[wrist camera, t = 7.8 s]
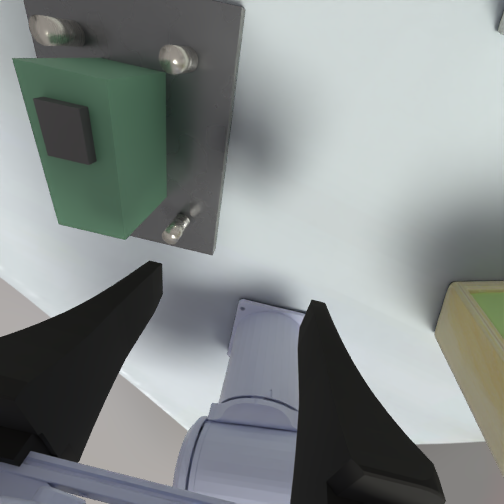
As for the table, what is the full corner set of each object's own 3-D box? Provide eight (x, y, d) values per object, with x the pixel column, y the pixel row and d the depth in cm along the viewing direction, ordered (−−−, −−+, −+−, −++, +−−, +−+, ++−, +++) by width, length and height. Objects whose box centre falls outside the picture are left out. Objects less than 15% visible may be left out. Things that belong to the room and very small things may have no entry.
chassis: (215, 248, 24) (203, 274, 21) (83, 217, 24) (54, 238, 22) (245, 9, 15) (231, -1, 12) (28, -39, 15) (-36, -61, 12)
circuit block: (166, 197, 21) (119, 245, 16) (115, 185, 21) (51, 229, 16) (165, 72, 16) (97, 80, 11) (99, 57, 16) (-1, 58, 11)
